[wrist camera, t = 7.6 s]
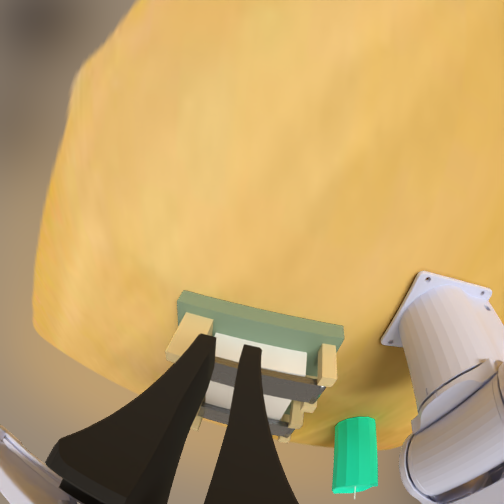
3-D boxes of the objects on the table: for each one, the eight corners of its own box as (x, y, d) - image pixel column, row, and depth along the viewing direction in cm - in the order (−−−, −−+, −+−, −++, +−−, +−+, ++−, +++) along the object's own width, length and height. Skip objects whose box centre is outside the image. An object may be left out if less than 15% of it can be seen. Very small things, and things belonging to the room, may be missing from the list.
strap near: (327, 380, 19) (327, 387, 19) (316, 397, 21) (315, 404, 20) (190, 347, 21) (186, 354, 20) (190, 367, 22) (187, 374, 21)
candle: (345, 435, 33) (342, 503, 22) (327, 424, 31) (322, 500, 21) (381, 424, 30) (383, 495, 20) (366, 412, 28) (368, 493, 18)
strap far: (297, 422, 24) (296, 429, 23) (289, 432, 26) (289, 438, 25) (192, 397, 25) (189, 403, 24) (193, 408, 27) (190, 414, 26)
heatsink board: (343, 325, 22) (347, 383, 17) (292, 412, 30) (287, 452, 25) (183, 290, 23) (154, 339, 18) (187, 388, 31) (172, 425, 26)
